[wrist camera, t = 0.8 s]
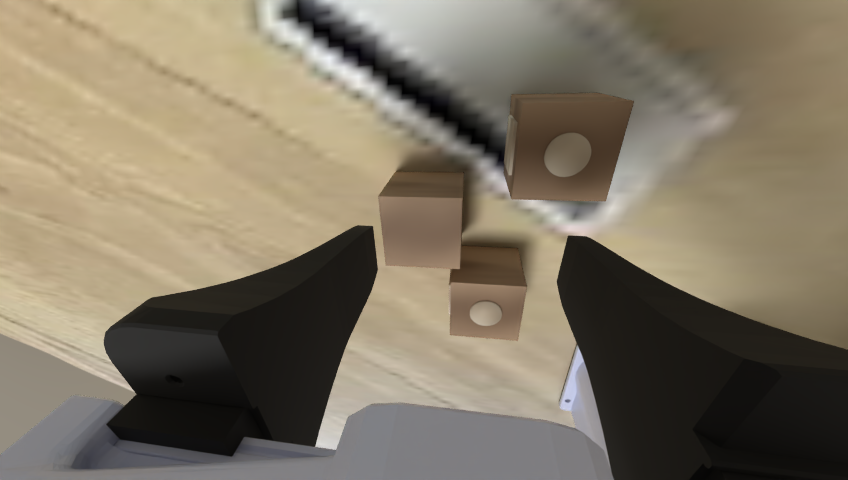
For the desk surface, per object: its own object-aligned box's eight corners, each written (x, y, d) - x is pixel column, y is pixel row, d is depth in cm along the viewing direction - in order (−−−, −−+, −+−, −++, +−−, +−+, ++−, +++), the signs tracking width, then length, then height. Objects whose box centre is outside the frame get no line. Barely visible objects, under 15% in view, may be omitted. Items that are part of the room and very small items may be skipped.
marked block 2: (510, 296, 24) (518, 342, 20) (451, 292, 25) (447, 336, 21) (517, 247, 22) (527, 288, 18) (452, 244, 23) (448, 283, 19)
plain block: (461, 233, 22) (459, 269, 18) (400, 231, 23) (385, 265, 19) (463, 171, 20) (462, 198, 16) (395, 171, 20) (378, 196, 17)
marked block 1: (578, 173, 19) (606, 202, 15) (501, 172, 20) (508, 200, 16) (596, 92, 17) (635, 101, 13) (508, 94, 17) (519, 103, 13)
